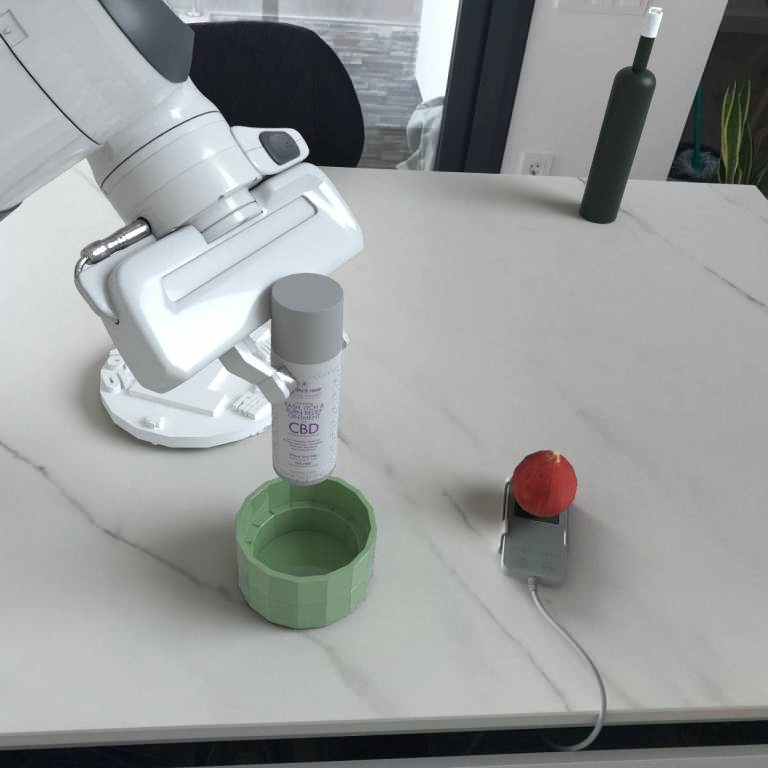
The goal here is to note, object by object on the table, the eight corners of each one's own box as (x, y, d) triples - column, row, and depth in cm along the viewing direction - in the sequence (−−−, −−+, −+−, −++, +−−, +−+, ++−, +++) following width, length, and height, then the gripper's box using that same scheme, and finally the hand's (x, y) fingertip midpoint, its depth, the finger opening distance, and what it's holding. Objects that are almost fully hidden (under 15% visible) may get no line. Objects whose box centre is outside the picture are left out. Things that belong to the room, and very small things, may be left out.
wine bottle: (595, 226, 118) (654, 15, 99) (571, 209, 122) (624, 3, 102) (623, 220, 120) (687, 13, 101) (599, 203, 124) (656, 1, 105)
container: (287, 494, 55) (287, 320, 45) (262, 451, 58) (257, 279, 48) (346, 474, 57) (358, 303, 47) (319, 433, 60) (326, 265, 50)
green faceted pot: (313, 657, 59) (314, 607, 55) (211, 580, 64) (205, 530, 60) (396, 566, 66) (403, 516, 62) (299, 503, 71) (299, 453, 67)
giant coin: (62, 393, 80) (56, 371, 78) (202, 312, 93) (200, 291, 91) (199, 485, 72) (197, 463, 70) (332, 382, 85) (333, 361, 83)
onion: (493, 498, 73) (508, 438, 68) (542, 481, 76) (560, 420, 71) (528, 543, 70) (547, 482, 64) (579, 523, 72) (601, 463, 67)
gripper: (79, 236, 39) (238, 453, 42) (312, 122, 53) (420, 291, 56) (36, 281, 44) (182, 475, 47) (262, 165, 58) (364, 319, 61)
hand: (314, 373), depth 51 cm, fingers closed on container, 4 cm apart
